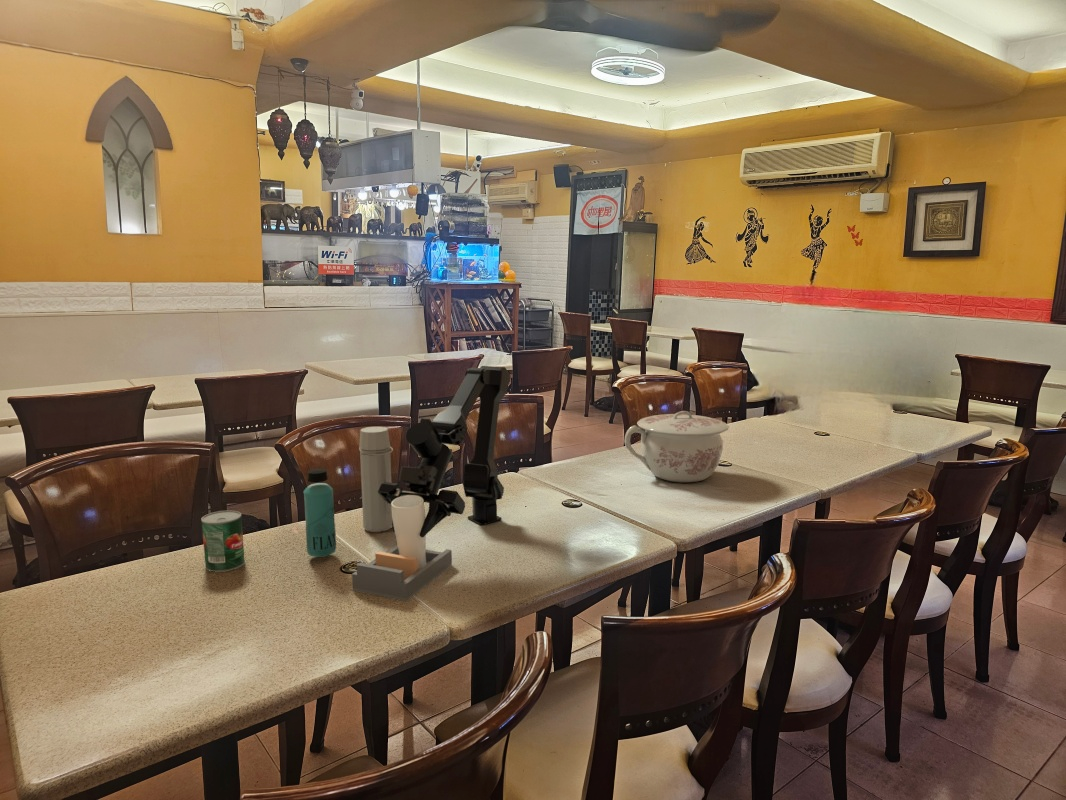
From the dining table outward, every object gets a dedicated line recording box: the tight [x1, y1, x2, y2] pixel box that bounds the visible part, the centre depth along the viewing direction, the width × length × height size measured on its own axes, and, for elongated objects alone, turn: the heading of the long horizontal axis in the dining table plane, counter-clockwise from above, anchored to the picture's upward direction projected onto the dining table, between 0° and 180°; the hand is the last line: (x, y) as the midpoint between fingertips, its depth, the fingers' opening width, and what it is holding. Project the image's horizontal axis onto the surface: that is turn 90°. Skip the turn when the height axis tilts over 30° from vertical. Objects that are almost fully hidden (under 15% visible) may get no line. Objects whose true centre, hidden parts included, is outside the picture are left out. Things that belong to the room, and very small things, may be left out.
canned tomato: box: [200, 510, 246, 573], centre depth 153 cm, size 8×8×11 cm
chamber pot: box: [624, 410, 730, 484], centre depth 217 cm, size 28×28×21 cm
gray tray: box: [351, 544, 453, 602], centre depth 147 cm, size 18×12×6 cm
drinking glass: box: [391, 495, 427, 570], centre depth 148 cm, size 7×7×15 cm
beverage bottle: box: [303, 468, 337, 558], centre depth 156 cm, size 6×7×20 cm
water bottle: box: [358, 426, 394, 533], centre depth 172 cm, size 9×8×25 cm
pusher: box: [374, 551, 418, 580], centre depth 144 cm, size 1×9×5 cm, turn 68°
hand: (407, 534), depth 147 cm, fingers closed on drinking glass, 6 cm apart
